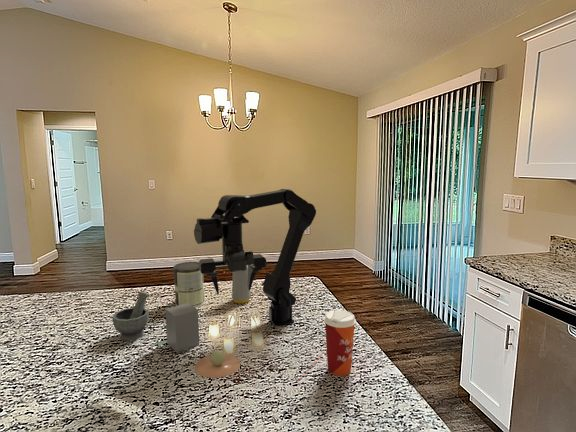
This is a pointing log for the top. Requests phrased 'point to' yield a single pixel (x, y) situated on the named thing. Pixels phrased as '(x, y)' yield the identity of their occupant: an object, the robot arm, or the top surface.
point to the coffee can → (188, 284)
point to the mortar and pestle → (132, 319)
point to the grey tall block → (182, 327)
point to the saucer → (219, 370)
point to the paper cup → (339, 341)
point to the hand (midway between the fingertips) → (233, 291)
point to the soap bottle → (240, 286)
